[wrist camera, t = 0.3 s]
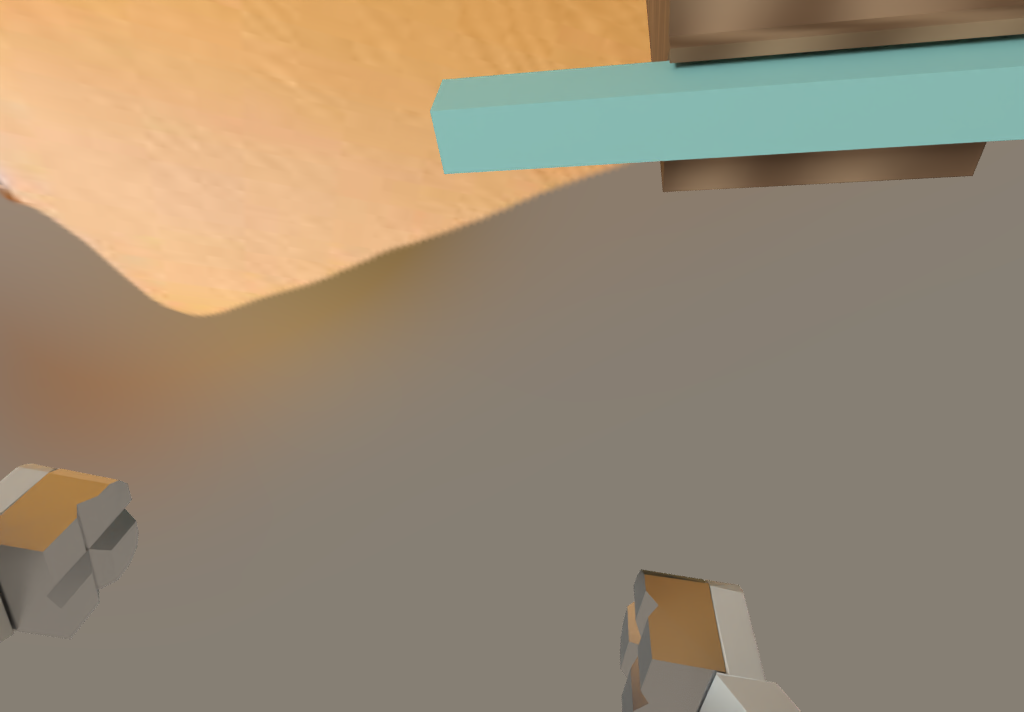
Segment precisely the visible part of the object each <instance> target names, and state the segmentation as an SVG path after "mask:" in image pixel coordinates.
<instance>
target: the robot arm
mask: <svg viewBox="0 0 1024 712" xmlns="http://www.w3.org/2000/svg"><path fill="white" fill-rule="evenodd" d="M131 500H132V498H131V495H130V491H129V487H128V484H127V483H124V482H122V481H120V480H115V479H110V478H105V477H100V476H95V475H90V474H85V473H80V472H74V471H70V470H65V469H57V468H52V467H47V466H42V465H37V464H32V463H29V464H26V465H22V466H19V467H17V468H16V469H15V470H13V471H12V472H11V473H10V474H8V475H7V476H6V477H5V478H4V479H2V480H1V481H0V642H2V641H4V640H5V639H7V638H9V637H10V636H12V635H13V634H14V632H13V631H19V632H25V633H31V634H38V635H45V636H52V637H58V638H65V639H71V638H72V637H73V635H74V634H75V633H76V632H77V630H78V629H79V628H80V627H81V625H82V624H83V623H84V622H85V620H86V619H87V618H88V617H89V615H90V614H91V613H92V612H93V611H94V609H95V608H96V607H97V606H98V604H99V602H100V601H99V589H102V588H103V587H105V586H107V585H109V584H111V583H113V582H115V581H117V580H118V579H119V578H120V577H121V576H122V574H123V573H124V572H125V570H126V569H127V567H128V566H129V565H130V563H131V560H132V558H133V555H134V553H135V551H136V548H137V543H138V527H137V522H136V520H135V519H134V518H133V517H132V516H131V515H130V514H129V513H128V512H127V510H126V509H125V507H126V506H127V505H128V504H129V503H130V501H131ZM620 669H621V670H622V672H623V673H624V674H625V676H626V677H627V681H626V684H625V687H624V690H623V693H622V712H801V711H800V710H799V708H798V707H797V706H796V705H795V704H794V703H793V702H792V700H791V699H790V698H789V697H788V696H787V695H786V694H785V692H784V691H783V690H782V689H781V688H780V687H779V686H778V685H777V683H773V682H768V681H766V679H765V675H764V671H763V667H762V663H761V659H760V656H759V651H758V648H757V644H756V640H755V636H754V632H753V628H752V624H751V620H750V616H749V612H748V609H747V605H746V601H745V597H744V593H743V590H742V589H741V588H740V586H739V585H735V584H728V583H723V582H717V581H710V580H705V581H704V580H703V579H698V578H692V577H686V576H679V575H673V574H667V573H661V572H655V571H648V570H642V569H641V570H640V572H639V573H638V575H637V577H636V580H635V584H634V602H633V603H632V604H630V605H629V606H628V607H627V610H626V613H625V617H624V621H623V626H622V634H621V643H620Z"/></svg>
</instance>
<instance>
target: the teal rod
mask: <svg viewBox="0 0 1024 712" xmlns="http://www.w3.org/2000/svg"><path fill="white" fill-rule="evenodd" d="M430 113H431V117H432V121H433V126H434V130H435V134H436V139H437V143H438V148H439V152H440V156H441V161H442V165H443V170H444V174H452V173H469V172H486V171H503V170H519V169H536V168H553V167H569V166H586V165H603V164H620V163H636V162H653V161H670V160H686V159H703V158H720V157H737V156H753V155H770V154H787V153H803V152H820V151H837V150H854V149H870V148H887V147H904V146H920V145H937V144H954V143H971V142H987V141H1004V140H1021V139H1024V34H1016V35H1004V36H992V37H980V38H968V39H956V40H944V41H932V42H920V43H908V44H896V45H884V46H872V47H860V48H848V49H836V50H824V51H812V52H800V53H788V54H776V55H764V56H753V57H741V58H729V59H717V60H705V61H693V62H681V63H670V61H660V62H648V63H636V64H624V65H612V66H600V67H588V68H576V69H565V70H553V71H541V72H529V73H517V74H505V75H493V76H481V77H469V78H458V79H446V80H442V83H441V85H440V88H439V90H438V93H437V95H436V98H435V100H434V103H433V105H432V108H431V110H430Z"/></svg>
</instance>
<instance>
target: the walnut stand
mask: <svg viewBox="0 0 1024 712" xmlns="http://www.w3.org/2000/svg"><path fill="white" fill-rule="evenodd" d="M646 3H647V14H648V26H649V37H650V49H651V60H652V62H660V61H670V63H681V62H693V61H705V60H717V59H729V58H741V57H753V56H764V55H776V54H788V53H800V52H812V51H824V50H836V49H848V48H860V47H872V46H884V45H896V44H908V43H920V42H932V41H944V40H956V39H968V38H980V37H992V36H1004V35H1016V34H1024V0H646ZM985 144H986V142H971V143H954V144H937V145H920V146H904V147H887V148H870V149H854V150H837V151H820V152H803V153H787V154H770V155H753V156H737V157H720V158H703V159H686V160H670V161H660V164H661V175H662V187H663V192H672V191H689V190H690V191H691V190H710V189H729V188H749V187H768V186H785V185H786V186H787V185H806V184H825V183H844V182H863V181H883V180H902V179H920V178H940V177H958V176H973V174H974V171H975V169H976V166H977V164H978V161H979V159H980V157H981V154H982V152H983V149H984V147H985Z"/></svg>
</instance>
